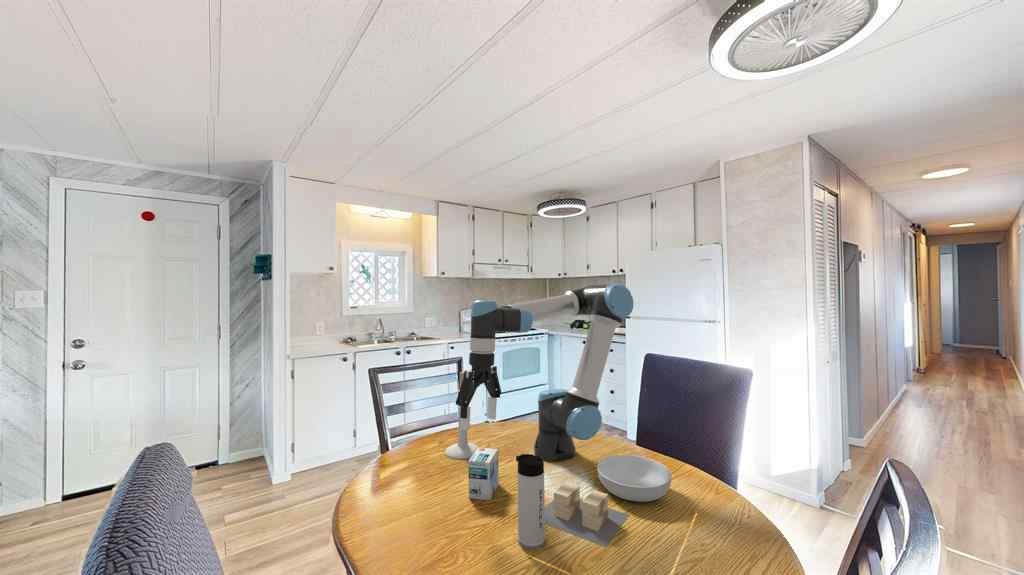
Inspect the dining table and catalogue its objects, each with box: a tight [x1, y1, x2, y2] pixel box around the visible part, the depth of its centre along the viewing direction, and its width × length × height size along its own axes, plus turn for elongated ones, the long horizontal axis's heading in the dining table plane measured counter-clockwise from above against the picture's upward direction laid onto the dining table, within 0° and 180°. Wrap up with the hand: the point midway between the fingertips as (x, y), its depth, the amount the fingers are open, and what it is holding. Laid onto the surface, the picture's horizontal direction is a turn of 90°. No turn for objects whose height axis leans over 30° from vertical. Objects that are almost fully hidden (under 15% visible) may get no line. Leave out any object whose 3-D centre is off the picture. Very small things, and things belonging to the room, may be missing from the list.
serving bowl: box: [596, 454, 673, 503], centre depth 114 cm, size 21×21×7 cm
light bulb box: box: [467, 447, 500, 501], centre depth 116 cm, size 11×7×11 cm, turn 168°
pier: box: [582, 489, 609, 531], centre depth 99 cm, size 7×4×6 cm, turn 145°
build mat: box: [544, 498, 630, 548], centre depth 101 cm, size 16×20×1 cm
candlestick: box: [445, 371, 480, 460], centre depth 145 cm, size 13×13×30 cm
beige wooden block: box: [553, 481, 581, 521], centre depth 103 cm, size 7×4×6 cm, turn 145°
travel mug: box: [515, 453, 546, 551], centre depth 91 cm, size 6×7×20 cm
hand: (478, 423), depth 116 cm, fingers open, 13 cm apart
